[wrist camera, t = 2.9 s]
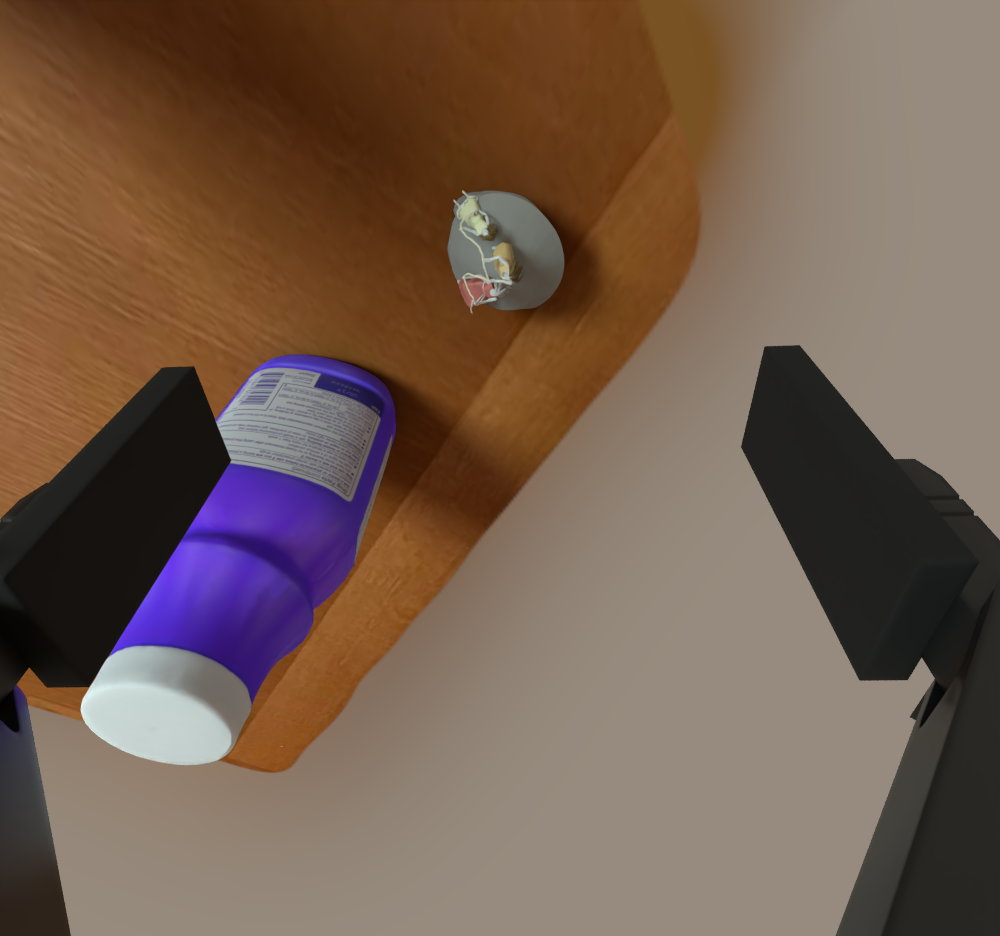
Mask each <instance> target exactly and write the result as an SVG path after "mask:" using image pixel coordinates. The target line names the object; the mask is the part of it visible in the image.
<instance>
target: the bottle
mask: <svg viewBox="0 0 1000 936" xmlns="http://www.w3.org/2000/svg"><path fill="white" fill-rule="evenodd" d="M215 421H216V423H217V426H218V428H219V431H220V433H221V436H222V438H223V441H224V443H225V446H226V448H227V451H228V453H229V456H230V458H231V462H230V464H229V465H228V467H227V469H226V470H225V472H224V473H223V475H222V477H221V478H220V480H219V481H218V483H217V484H216V486H215V488H214V489H213V491H212V492H211V494H210V496H209V497H208V499H207V500H206V502H205V504H204V505H203V507H202V508H201V510H200V512H199V513H198V515H197V516H196V518H195V519H194V521H193V523H192V524H191V526H190V527H189V529H188V531H187V532H186V534H185V535H184V537H183V539H182V540H181V542H180V543H179V545H178V546H177V548H176V550H175V551H174V553H173V554H172V556H171V558H170V559H169V561H168V562H167V564H166V566H165V567H164V569H163V570H162V572H161V573H160V575H159V577H158V578H157V580H156V581H155V583H154V585H153V586H152V588H151V589H150V591H149V593H148V594H147V596H146V597H145V599H144V600H143V602H142V604H141V605H140V607H139V608H138V610H137V612H136V613H135V615H134V616H133V618H132V620H131V621H130V623H129V624H128V626H127V628H126V629H125V631H124V632H123V634H122V635H121V637H120V639H119V640H118V642H117V644H116V645H115V647H114V649H113V651H112V653H111V655H110V656H109V658H108V659H107V660H106V661H105V662H104V664H103V666H102V667H101V670H100V672H99V674H98V675H97V677H96V679H95V680H94V682H93V683H92V685H91V686H90V688H89V690H88V691H87V693H86V695H85V696H84V698H83V701H82V704H81V713H82V716H83V719H84V721H85V723H86V725H87V726H88V727H89V728H90V729H91V730H92V731H93V732H94V733H95V734H96V735H98V736H99V737H100V738H102V739H103V740H105V741H106V742H108V743H109V744H111V745H113V746H115V747H117V748H119V749H121V750H123V751H125V752H127V753H130V754H132V755H135V756H138V757H142V758H145V759H149V760H153V761H157V762H163V763H170V764H179V765H198V764H206V763H210V762H213V761H216V760H219V759H221V758H223V757H224V756H226V755H227V754H228V753H229V752H230V751H231V750H232V748H233V747H234V745H235V743H236V740H237V738H238V736H239V733H240V731H241V729H242V727H243V725H244V723H245V721H246V719H247V717H248V716H249V714H250V711H251V708H252V704H253V701H254V698H255V696H256V694H257V692H258V690H259V688H260V686H261V684H262V682H263V681H264V679H265V678H266V676H267V674H268V673H269V671H270V670H271V668H272V667H273V666H274V665H275V664H276V663H277V662H278V661H279V660H280V659H281V658H283V657H284V656H285V655H287V654H289V653H290V652H292V651H293V650H294V649H295V648H296V647H297V646H298V645H299V644H301V643H302V641H303V640H304V639H305V638H306V636H307V634H308V633H309V631H310V629H311V626H312V624H313V609H315V608H316V607H318V606H319V605H321V604H322V603H323V602H324V601H325V600H326V599H327V598H328V597H329V596H330V595H332V594H333V593H334V591H335V590H336V589H337V588H338V587H339V586H340V585H341V583H342V582H343V581H344V580H345V578H346V577H347V575H348V573H349V572H350V570H351V569H352V568H353V566H354V562H355V559H356V557H357V553H358V550H359V547H360V544H361V541H362V538H363V535H364V532H365V529H366V526H367V523H368V520H369V517H370V513H371V510H372V507H373V504H374V501H375V498H376V494H377V491H378V488H379V485H380V482H381V479H382V476H383V473H384V470H385V467H386V464H387V461H388V457H389V453H390V449H391V447H392V444H393V442H394V437H395V431H396V421H395V407H394V403H393V399H392V396H391V394H390V392H389V390H388V388H387V387H386V386H385V384H384V383H382V382H381V381H380V380H379V379H378V378H376V377H375V376H374V375H372V374H370V373H368V372H366V371H364V370H362V369H360V368H358V367H356V366H353V365H351V364H347V363H344V362H341V361H338V360H334V359H330V358H325V357H319V356H312V355H285V356H281V357H276V358H274V359H271V360H269V361H267V362H265V363H264V364H262V365H261V366H260V367H258V368H257V369H256V370H255V371H254V372H253V373H252V374H251V375H250V377H249V378H248V379H247V381H246V382H245V383H244V384H243V385H242V386H241V387H240V389H239V390H238V392H237V393H236V394H235V396H234V397H233V398H232V399H231V401H230V402H229V404H228V405H227V406H226V407H225V409H224V410H223V411H222V412H221V414H220V415H219V416H218V418H217V419H216V420H215Z"/></svg>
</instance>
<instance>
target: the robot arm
mask: <svg viewBox="0 0 1000 936" xmlns="http://www.w3.org/2000/svg"><path fill="white" fill-rule="evenodd" d="M741 448H742V450H743V452H744V454H745V456H746V457H747V459H748V461H749V463H750V465H751V467H752V469H753V471H754V473H755V475H756V477H757V479H758V481H759V483H760V485H761V487H762V489H763V491H764V493H765V495H766V497H767V499H768V501H769V503H770V505H771V507H772V509H773V511H774V513H775V515H776V517H777V518H778V521H779V523H780V524H781V527H782V528H783V530H784V532H785V534H786V536H787V538H788V540H789V542H790V544H791V546H792V548H793V550H794V552H795V554H796V556H797V558H798V560H799V562H800V564H801V566H802V568H803V570H804V572H805V574H806V576H807V578H808V580H809V582H810V584H811V585H812V588H813V590H814V592H815V594H816V596H817V598H818V599H819V601H820V603H821V605H822V607H823V609H824V611H825V613H826V615H827V617H828V619H829V621H830V623H831V625H832V627H833V629H834V631H835V633H836V635H837V637H838V639H839V641H840V643H841V645H842V647H843V649H844V651H845V653H846V655H847V656H848V659H849V661H850V663H851V665H852V666H853V668H854V670H855V672H856V674H857V676H858V678H859V680H908V679H909V677H910V675H911V674H912V672H913V670H914V669H915V667H916V666H917V664H918V662H919V661H920V659H921V657H922V658H923V660H924V662H925V663H926V665H927V666H928V668H929V669H930V671H931V673H932V674H933V676H934V678H935V679H934V681H933V683H932V684H931V686H930V687H929V689H928V690H927V692H926V693H925V695H924V696H923V698H922V699H921V701H920V702H919V704H918V705H917V707H916V708H915V710H914V711H913V713H912V714H911V716H910V717H911V718H913V719H915V720H916V722H915V725H914V727H913V730H912V733H911V736H910V738H909V741H908V744H907V746H906V749H905V751H904V754H903V757H902V759H901V762H900V765H899V767H898V770H897V773H896V776H895V778H894V781H893V784H892V786H891V789H890V792H889V794H888V797H887V800H886V802H885V805H884V808H883V810H882V813H881V816H880V818H879V821H878V824H877V826H876V829H875V832H874V835H873V838H872V840H871V843H870V845H869V848H868V851H867V853H866V856H865V859H864V861H863V864H862V867H861V869H860V872H859V875H858V877H857V880H856V883H855V885H854V888H853V891H852V894H851V896H850V899H849V902H848V904H847V907H846V910H845V912H844V915H843V918H842V921H841V923H840V926H839V928H838V931H837V934H836V936H1000V540H999V539H998V538H997V537H996V536H995V535H994V533H993V532H992V531H991V530H990V529H989V528H988V527H987V526H986V525H985V524H984V522H983V521H982V520H981V519H980V518H979V517H978V516H974V511H973V510H972V509H971V508H970V507H969V506H968V505H967V504H966V502H965V501H964V500H963V499H959V495H958V494H957V492H956V491H955V490H954V489H953V488H952V487H951V486H950V485H949V484H948V482H947V481H946V480H945V479H944V478H943V477H942V476H941V475H939V474H938V473H936V472H935V471H933V470H931V469H930V468H928V467H927V466H925V465H923V464H922V463H920V462H919V461H917V460H915V459H894V458H893V457H892V456H891V455H890V454H889V452H888V451H887V450H886V449H885V448H884V446H883V445H882V444H881V443H880V441H879V440H878V439H877V438H876V437H875V435H874V434H873V433H872V432H871V431H870V430H869V428H868V427H867V426H866V425H865V423H864V422H863V421H862V420H861V419H860V417H859V416H858V415H857V414H856V413H855V412H854V410H853V409H852V408H851V407H850V406H849V404H848V403H847V402H846V401H845V399H844V398H843V397H842V396H841V395H840V393H839V392H838V391H837V390H836V389H835V387H834V386H833V385H832V384H831V383H830V381H829V380H828V379H827V378H826V377H825V375H824V374H823V373H822V372H821V370H820V369H819V368H818V367H817V366H816V365H815V364H814V362H813V361H812V360H811V358H810V357H809V356H808V355H807V354H806V352H805V351H804V350H803V349H802V348H801V346H799V345H795V346H767V347H765V348H764V352H763V356H762V360H761V364H760V368H759V373H758V377H757V382H756V386H755V390H754V394H753V399H752V403H751V408H750V411H749V416H748V420H747V424H746V429H745V433H744V437H743V441H742V446H741ZM230 462H231V458H230V456H229V453H228V451H227V448H226V446H225V443H224V441H223V438H222V436H221V433H220V431H219V428H218V426H217V423H216V421H215V418H214V416H213V413H212V411H211V408H210V405H209V403H208V400H207V398H206V395H205V393H204V390H203V388H202V385H201V383H200V380H199V378H198V375H197V373H196V370H195V368H194V367H165V368H161V369H160V370H159V371H158V373H157V374H156V375H155V376H154V377H153V378H152V379H151V380H150V381H149V382H148V383H147V384H146V385H145V386H144V387H143V388H142V389H141V390H140V391H139V392H138V393H137V394H136V395H135V396H134V397H133V398H132V399H131V400H130V401H129V402H128V403H127V404H126V405H125V406H124V407H123V408H122V409H121V410H120V411H119V412H118V413H117V414H116V415H115V416H114V417H113V418H112V419H111V420H110V421H109V422H108V423H107V424H106V425H105V426H104V427H103V428H102V430H101V431H100V432H99V433H98V434H97V435H96V436H95V437H94V438H93V439H92V440H91V441H90V442H89V443H88V444H87V445H86V446H85V447H84V448H83V449H82V450H81V451H80V452H79V453H78V454H77V455H76V456H75V457H74V458H73V459H72V460H71V461H70V462H69V463H68V464H67V465H66V466H65V467H64V468H63V469H62V470H61V471H60V472H59V473H58V474H57V475H56V476H55V477H54V478H53V479H52V480H51V481H50V482H49V483H46V484H44V485H42V486H41V487H39V488H38V489H36V490H35V491H33V492H31V493H30V494H28V495H27V496H25V497H24V498H22V499H20V500H19V501H18V502H17V503H16V504H15V505H14V506H13V507H12V508H11V509H10V510H9V511H8V512H7V513H6V514H5V515H4V516H3V517H2V518H1V519H0V520H1V522H0V936H71V935H70V929H69V924H68V918H67V913H66V908H65V902H64V897H63V892H62V887H61V881H60V876H59V870H58V865H57V860H56V854H55V849H54V844H53V838H52V833H51V828H50V822H49V817H48V811H47V806H46V801H45V796H44V790H43V785H42V780H41V774H40V769H39V764H38V758H37V753H36V747H35V742H34V737H33V732H32V726H31V721H30V715H29V710H28V705H27V699H26V697H25V695H24V693H23V692H22V690H21V689H20V688H19V687H18V686H17V685H16V684H17V683H18V681H19V680H20V679H21V677H22V676H23V675H24V673H25V672H26V671H27V669H28V668H29V667H30V669H31V670H32V671H33V672H34V673H35V674H36V676H37V677H38V678H39V679H40V680H41V681H42V682H43V684H44V685H45V686H46V687H89V686H90V685H91V683H92V682H93V680H94V678H95V677H96V675H97V674H98V672H99V670H100V669H101V667H102V666H103V664H104V662H105V661H106V659H107V658H108V656H109V655H110V653H111V651H112V650H113V648H114V647H115V645H116V643H117V642H118V640H119V639H120V637H121V635H122V634H123V632H124V631H125V629H126V628H127V626H128V624H129V623H130V621H131V620H132V618H133V616H134V615H135V613H136V612H137V610H138V608H139V607H140V605H141V604H142V602H143V600H144V599H145V597H146V596H147V594H148V593H149V591H150V589H151V588H152V586H153V585H154V583H155V581H156V580H157V578H158V577H159V575H160V573H161V572H162V570H163V569H164V567H165V566H166V564H167V562H168V561H169V559H170V558H171V556H172V554H173V553H174V551H175V550H176V548H177V546H178V545H179V543H180V542H181V540H182V539H183V537H184V535H185V534H186V532H187V531H188V529H189V527H190V526H191V524H192V523H193V521H194V519H195V518H196V516H197V515H198V513H199V512H200V510H201V508H202V507H203V505H204V504H205V502H206V500H207V499H208V497H209V496H210V494H211V492H212V491H213V489H214V488H215V486H216V484H217V483H218V481H219V480H220V478H221V477H222V475H223V473H224V472H225V470H226V469H227V467H228V465H229V464H230Z"/></svg>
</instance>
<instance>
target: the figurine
mask: <svg viewBox="0 0 1000 936" xmlns="http://www.w3.org/2000/svg"><path fill="white" fill-rule="evenodd" d="M462 193H463V194H464V195H463V196H462V197H460V198H459V199H458V200H457V201H455V200H453V201H454V203H455V206H454V210H453V211H454V214H455V216H456V217H455V218H454V220H453V223H452V227H451V232H450V237H449V243H448V255H449V259H450V262H451V266H452V270H453V273H454V275H455V277H456V279H457V283H458V285H459V289H460V292H461V294H462V296H463V298H464V300H465V302H466V304H467V305H468V306H469V307H470V308H471V313H472V314H473V312H472V308H473V307H474V306H478V305H480V304H484V303H485V304H486V305H488V306H491V307H493V308H496V309H500V310H517V309H529V308H536V307H538V306H540V305H541V304H543V303H544V302H545V301H547V300H548V299H549V298H550V297H551V296H552V294H553V293H554V292H555V290H556V289H557V287H558V286H559V284H560V282H561V279H562V276H563V271H564V253H563V248H562V245H561V242H560V239H559V236H558V234H557V232H556V231H555V229H554V227H553V226H552V225H551V223H550V222H549V221H548V219H547V218H546V217H545V216H544V215H543V214H542V213H541V212H540V211H539V210H538V208H537V207H536V206H535V205H534V204H533V203H532V202H531V201H529V200H528V199H527V198H525V197H523V196H521V195H519V194H515V193H510V192H502V191H481V192H470V193H466V192H464V191H462Z"/></svg>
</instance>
